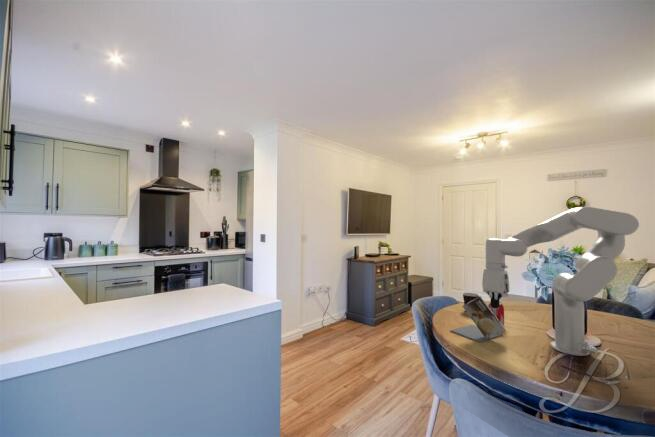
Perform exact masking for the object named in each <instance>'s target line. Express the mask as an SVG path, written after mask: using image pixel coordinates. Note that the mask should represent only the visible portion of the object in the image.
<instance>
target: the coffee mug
mask: <svg viewBox="0 0 655 437" xmlns="http://www.w3.org/2000/svg"><path fill="white" fill-rule="evenodd" d="M462 296H463V297H462V299H463V305H465V304H467V303H468V302H470V301H472V300H474V299H475V298H477V297H479V296H480V294H478V293H473V292H463V293H462ZM464 311H465V312H466V310H465V309H464Z"/></svg>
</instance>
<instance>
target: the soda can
mask: <svg viewBox="0 0 655 437" xmlns="http://www.w3.org/2000/svg"><path fill="white" fill-rule="evenodd" d="M487 305H488V307H489V308H490V309H491V311H492V312H493V313H494V314H495V316H496V317H497V318H498V320H499V321H500V322H501V324H502V325H503V326H504V327H505V307H504V305H503V302H501V301H499V308H491V300H490V301H489V303H488V304H487Z"/></svg>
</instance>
